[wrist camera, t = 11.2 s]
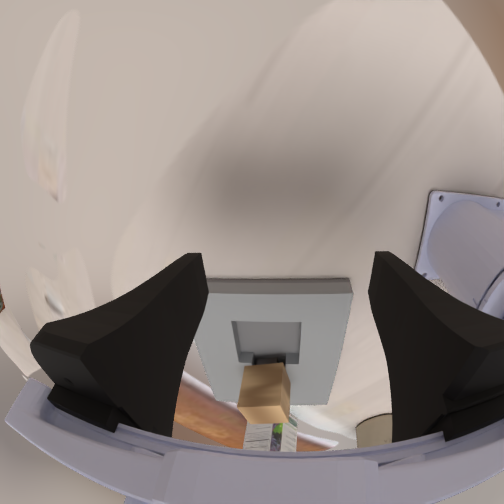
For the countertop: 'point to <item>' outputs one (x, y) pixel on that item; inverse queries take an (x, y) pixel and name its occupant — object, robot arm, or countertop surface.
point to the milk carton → (1, 302)
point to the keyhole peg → (265, 392)
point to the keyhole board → (274, 333)
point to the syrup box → (272, 436)
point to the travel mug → (375, 431)
